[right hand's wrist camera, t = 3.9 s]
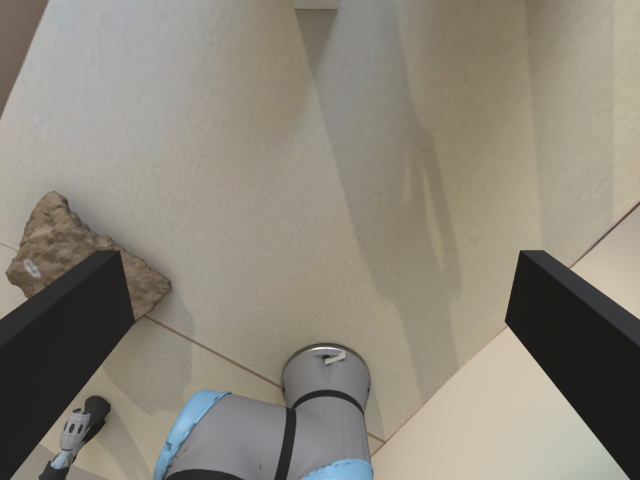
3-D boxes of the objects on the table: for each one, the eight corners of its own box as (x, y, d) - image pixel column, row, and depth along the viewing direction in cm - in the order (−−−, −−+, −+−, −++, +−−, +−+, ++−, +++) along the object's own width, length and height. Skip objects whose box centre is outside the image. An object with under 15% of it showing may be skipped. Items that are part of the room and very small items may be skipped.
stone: (-13, 259, 53) (-38, 277, 48) (57, 184, 53) (40, 193, 47) (118, 335, 62) (110, 358, 57) (180, 272, 62) (177, 288, 56)
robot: (95, 451, 72) (17, 577, 53) (70, 443, 71) (-19, 568, 53) (124, 379, 65) (46, 495, 47) (96, 369, 65) (6, 482, 46)
